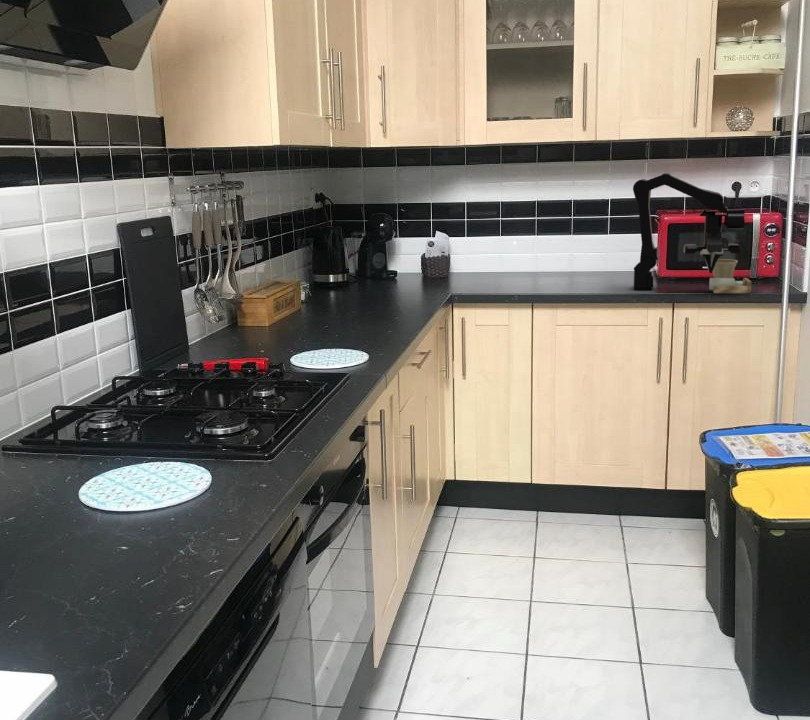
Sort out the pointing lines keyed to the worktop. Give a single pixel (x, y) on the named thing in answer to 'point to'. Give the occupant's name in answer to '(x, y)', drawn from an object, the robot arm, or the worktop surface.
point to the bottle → (724, 282)
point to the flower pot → (724, 268)
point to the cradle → (734, 288)
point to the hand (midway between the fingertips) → (710, 272)
